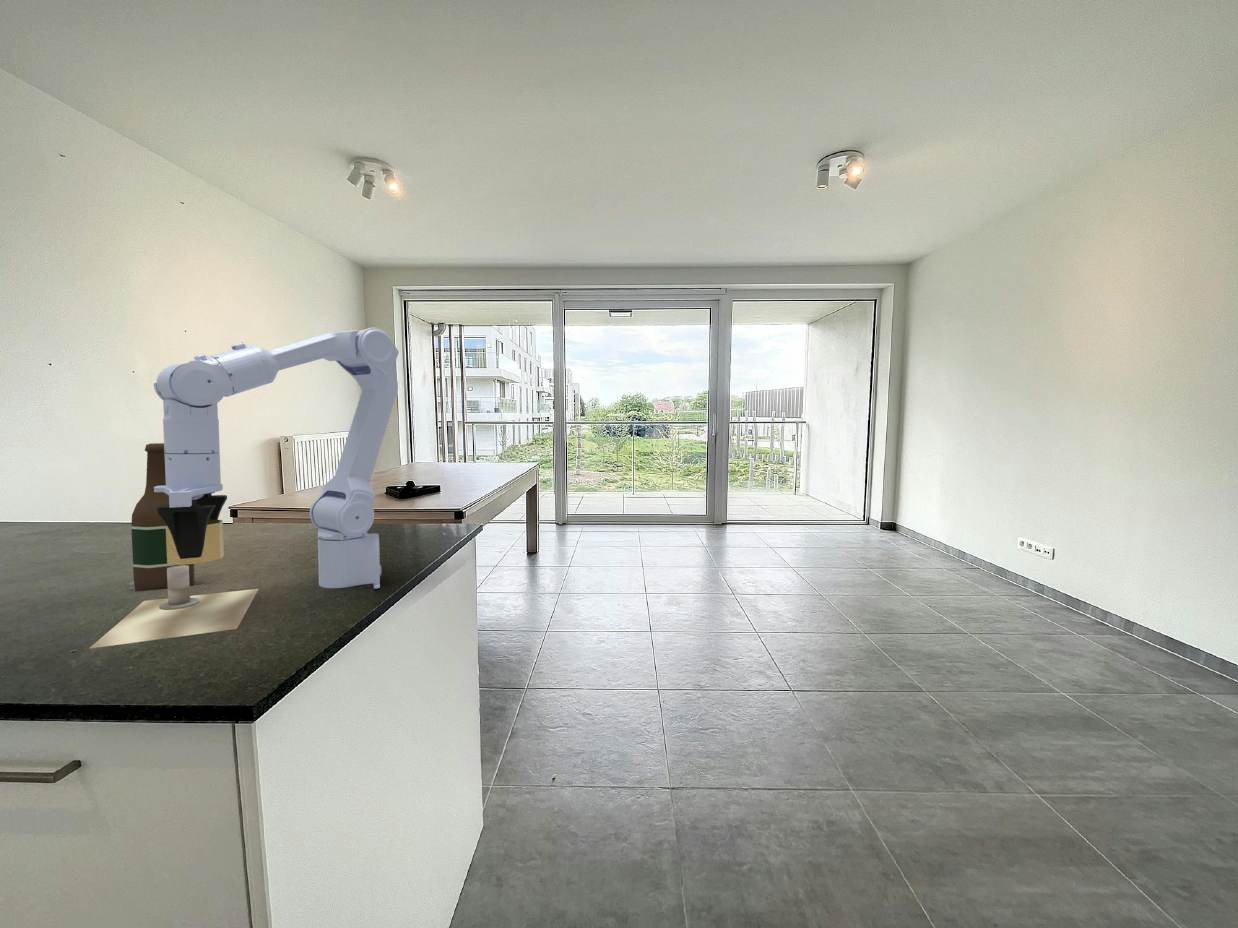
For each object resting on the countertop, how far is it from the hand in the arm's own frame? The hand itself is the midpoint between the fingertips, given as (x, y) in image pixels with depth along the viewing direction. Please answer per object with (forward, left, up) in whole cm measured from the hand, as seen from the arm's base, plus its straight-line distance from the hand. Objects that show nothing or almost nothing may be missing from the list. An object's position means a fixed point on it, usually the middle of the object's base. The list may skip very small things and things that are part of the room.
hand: (196, 552), depth 69 cm
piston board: (+2, -1, -10) cm, 10 cm away
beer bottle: (+9, -21, -10) cm, 24 cm away
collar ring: (0, 0, -1) cm, 1 cm away
